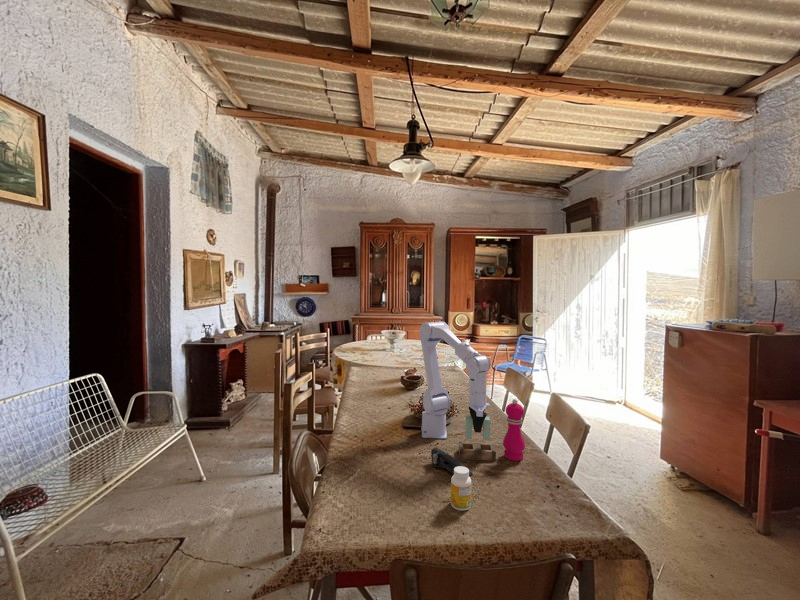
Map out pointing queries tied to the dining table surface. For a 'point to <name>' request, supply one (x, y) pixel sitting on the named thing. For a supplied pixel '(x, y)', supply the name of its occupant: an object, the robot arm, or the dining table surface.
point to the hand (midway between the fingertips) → (477, 430)
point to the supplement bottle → (461, 489)
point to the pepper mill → (514, 432)
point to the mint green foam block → (485, 428)
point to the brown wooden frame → (477, 451)
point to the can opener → (445, 460)
